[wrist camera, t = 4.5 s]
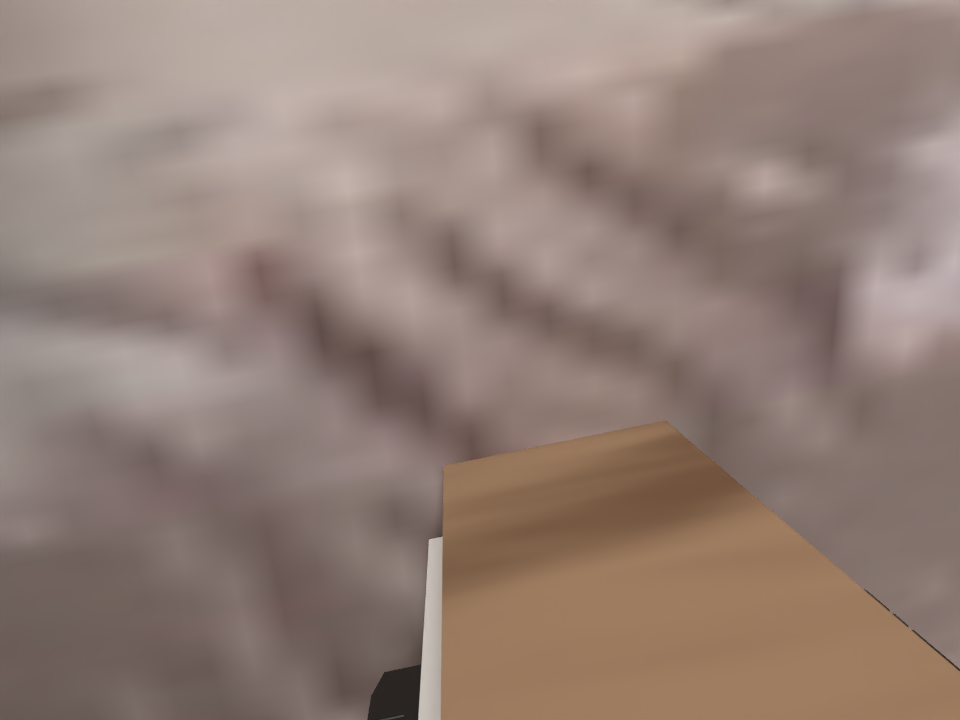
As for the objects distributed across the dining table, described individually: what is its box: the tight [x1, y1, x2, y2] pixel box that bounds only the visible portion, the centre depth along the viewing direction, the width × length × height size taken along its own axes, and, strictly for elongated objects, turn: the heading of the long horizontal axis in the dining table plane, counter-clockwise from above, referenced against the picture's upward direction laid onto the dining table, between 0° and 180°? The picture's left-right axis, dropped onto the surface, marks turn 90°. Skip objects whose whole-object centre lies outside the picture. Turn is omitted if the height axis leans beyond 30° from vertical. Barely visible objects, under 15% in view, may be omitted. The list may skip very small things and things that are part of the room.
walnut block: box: [441, 421, 960, 720], centre depth 9 cm, size 6×6×10 cm
